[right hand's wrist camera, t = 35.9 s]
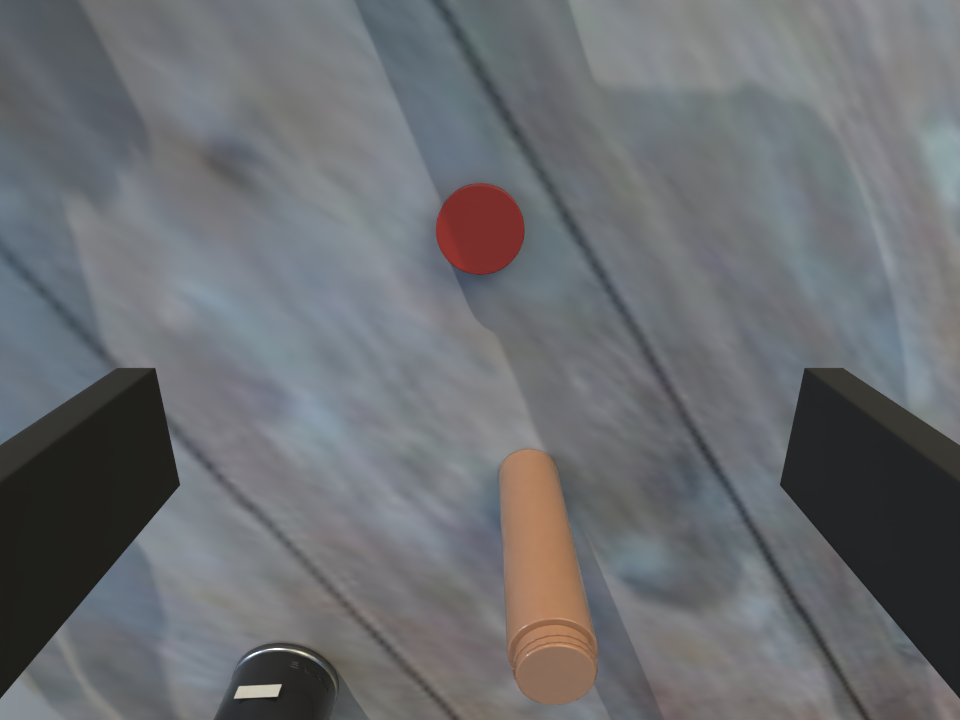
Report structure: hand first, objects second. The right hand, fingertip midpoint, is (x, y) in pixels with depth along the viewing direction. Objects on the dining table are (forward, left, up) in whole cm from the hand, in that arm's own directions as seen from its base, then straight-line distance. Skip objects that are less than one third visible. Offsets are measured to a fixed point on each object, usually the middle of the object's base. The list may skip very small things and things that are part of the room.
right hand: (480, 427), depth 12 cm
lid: (0, 0, -28) cm, 28 cm away
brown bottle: (+15, +13, -29) cm, 35 cm away
